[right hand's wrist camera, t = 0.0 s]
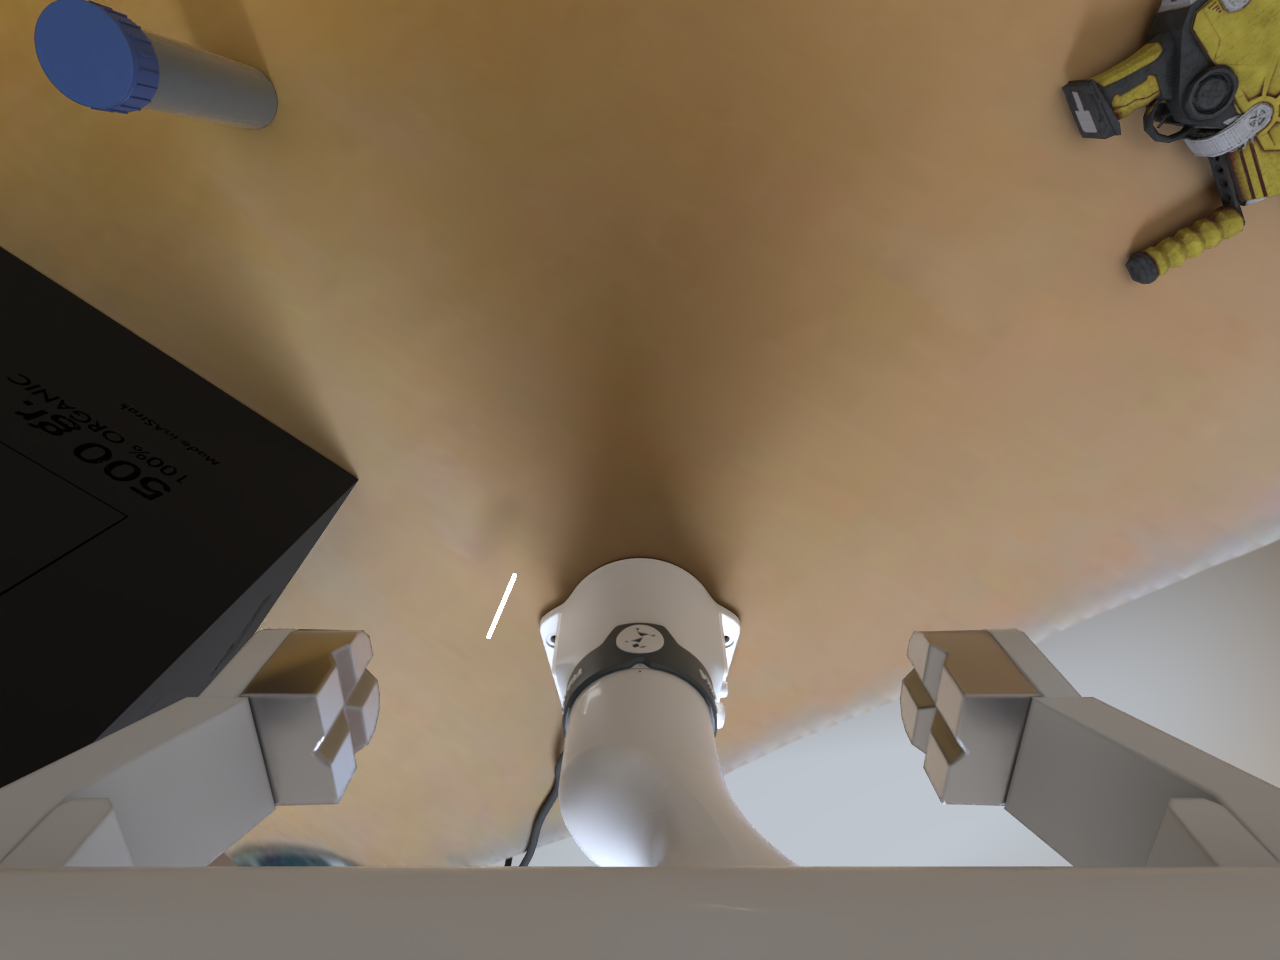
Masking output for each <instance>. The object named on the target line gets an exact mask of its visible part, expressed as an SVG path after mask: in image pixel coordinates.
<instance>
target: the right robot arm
mask: <svg viewBox="0 0 1280 960" xmlns="http://www.w3.org/2000/svg"><path fill="white" fill-rule="evenodd" d="M516 576H517V574H514V573H513V576H512V578H511V580H510V583H509V585H508V587H507V590H506V592H505V595H504V597H503V599H502V602H501V604H500V606H499V609H498V611H497V614H496V616H495V618H494V621H493V623H492V625H491V628H490V630H489V632H488V635H487V638H489V639H490V638H491V635H492V633H493V630H494V628H495V626H496V623H497V621H498V619H499V616H500V614H501V612H502V609H503V607H504V605H505V602H506V600H507V597H508V595H509V593H510V590H511V588H512V586H513V583H514V581H515V579H516ZM540 633H541V637H542V640H543V644H544V647H545V650H546V654H547V657H548V661H549V664H550V667H551V671H552V675H553V678H554V681H555V684H556V688H557V691H558V695H559V698H560V701H561V705H562V708H563V709H562V713H563V731H564V736H565V745H564V750H563V752H562V753H561V755H560V756H559V758H558V760H557V763H556V766H555V776H556V782H555V786H554V788H553V790H552V792H551V794H550V796H549V798H548V799H547V801H546V803H545V804H544V806H543V808H542V809H541V811H540V813H539V815H538V817H537V819H536V822H535V825H534V828H533V832H532V836H531V840H530V844H529V848H528V850H527V853H526V855H525V857H524V858H523V860H522V862H521V864H520V865H519V867H511V864H512V858H513V857H510V858H508V859H506V860H505V865H504V867H206V866H207V865H209V864H210V863H211V862H212V861H213V860H215V859H216V858H217V857H218V856H220V855H221V854H222V853H223V852H224V851H226V850H227V849H228V848H229V847H230V846H232V845H233V844H234V843H235V842H236V841H238V840H239V839H240V838H241V837H242V836H244V835H245V834H246V833H247V832H249V831H250V830H251V829H252V828H253V827H255V826H256V825H257V824H258V823H259V822H261V821H262V820H263V819H264V818H265V817H267V816H268V815H269V814H270V813H272V812H273V811H274V810H275V809H276V807H275V806H286V805H320V804H338V803H339V801H340V799H341V797H342V795H343V793H344V791H345V789H346V787H347V785H348V783H349V781H350V779H351V777H352V776H353V774H354V772H355V770H356V768H357V767H356V761H355V756H354V754H355V753H356V752H358V751H359V750H361V749H362V748H363V747H365V746H366V745H368V744H369V741H370V739H371V737H372V735H373V733H374V731H375V728H376V723H377V719H378V714H379V705H380V693H379V687H378V680H377V679H376V678H375V677H374V676H373V675H372V674H371V673H370V672H369V671H368V670H367V669H366V667H367V665H368V663H369V662H370V660H371V658H372V656H373V651H372V646H371V642H370V637H369V635H368V634H367V633H366V632H365V631H363V630H318V629H298V630H296V629H264V630H261V631H257V632H256V633H255V634H254V635H253V636H252V638H251V639H250V640H249V641H248V642H247V643H246V644H245V645H244V646H243V648H242V649H241V650H240V651H239V652H238V653H237V654H236V655H235V656H234V658H233V659H232V660H231V661H230V662H229V663H228V664H227V665H226V666H225V668H224V669H223V670H222V671H221V672H220V673H219V674H218V675H217V676H216V678H215V679H214V680H213V681H212V682H211V683H210V684H209V685H208V686H207V688H206V689H205V690H204V691H203V692H202V693H201V694H200V695H199V696H198V697H186V698H184V699H182V700H180V701H178V702H176V703H174V704H172V705H170V706H168V707H166V708H164V709H162V710H160V711H157V712H155V713H153V714H151V715H149V716H147V717H145V718H143V719H141V720H139V721H137V722H135V723H133V724H131V725H129V726H127V727H125V728H123V729H121V730H119V731H117V732H114V733H112V734H110V735H108V736H106V737H104V738H102V739H100V740H98V741H96V742H94V743H92V744H90V745H88V746H86V747H84V748H82V749H80V750H78V751H76V752H74V753H72V754H69V755H67V756H65V757H63V758H61V759H59V760H57V761H55V762H53V763H51V764H49V765H47V766H45V767H43V768H41V769H39V770H37V771H35V772H33V773H31V774H29V775H27V776H24V777H22V778H20V779H18V780H16V781H14V782H12V783H10V784H8V785H6V786H4V787H2V788H0V960H1280V788H1277V787H1275V786H1273V785H1271V784H1269V783H1267V782H1265V781H1263V780H1261V779H1259V778H1257V777H1255V776H1253V775H1251V774H1249V773H1247V772H1245V771H1243V770H1241V769H1239V768H1237V767H1235V766H1233V765H1231V764H1229V763H1226V762H1224V761H1222V760H1220V759H1218V758H1216V757H1214V756H1212V755H1210V754H1208V753H1206V752H1204V751H1202V750H1200V749H1198V748H1196V747H1194V746H1192V745H1190V744H1188V743H1186V742H1184V741H1182V740H1180V739H1178V738H1175V737H1173V736H1171V735H1169V734H1167V733H1165V732H1163V731H1161V730H1159V729H1157V728H1155V727H1153V726H1151V725H1149V724H1147V723H1145V722H1143V721H1141V720H1139V719H1137V718H1135V717H1133V716H1131V715H1129V714H1126V713H1125V712H1122V711H1120V710H1118V709H1116V708H1114V707H1112V706H1110V705H1108V704H1106V703H1104V702H1102V701H1100V700H1098V699H1096V698H1094V697H1081V695H1080V694H1079V693H1078V692H1077V691H1076V690H1075V689H1074V688H1073V686H1072V685H1071V684H1070V683H1069V682H1068V681H1067V680H1066V679H1065V678H1064V676H1063V675H1062V674H1061V673H1060V672H1059V671H1058V670H1057V669H1056V668H1055V666H1054V665H1053V664H1052V663H1051V662H1050V661H1049V660H1048V659H1047V658H1046V656H1045V655H1044V654H1043V653H1042V652H1041V651H1040V650H1039V649H1038V648H1037V646H1036V645H1035V644H1034V643H1033V642H1032V641H1031V640H1030V639H1029V638H1028V636H1027V635H1026V634H1025V633H1024V632H1022V631H1020V630H1018V629H1015V628H1014V629H986V630H963V631H914V632H913V634H912V636H911V638H910V640H909V645H908V651H907V656H908V658H909V660H910V662H911V663H912V665H913V667H914V669H913V670H912V671H911V672H910V673H909V674H908V675H907V676H906V677H905V678H904V679H903V680H902V688H901V696H900V704H901V716H902V720H903V724H904V727H905V731H906V733H907V735H908V737H909V739H910V742H911V744H912V745H914V746H915V747H917V748H918V749H919V750H921V751H922V752H924V753H925V754H926V756H925V761H924V770H925V772H926V774H927V775H928V777H929V779H930V781H931V783H932V785H933V787H934V789H935V791H936V793H937V795H938V797H939V799H940V801H941V803H942V804H958V805H994V806H1005V807H1004V809H1005V810H1006V811H1008V812H1009V813H1010V814H1011V815H1012V816H1014V817H1015V818H1016V819H1017V820H1018V821H1020V822H1021V823H1022V824H1023V825H1024V826H1026V827H1027V828H1028V829H1029V830H1031V831H1032V832H1033V833H1034V834H1035V835H1037V836H1038V837H1039V838H1040V839H1041V840H1043V841H1044V842H1045V843H1046V844H1047V845H1049V846H1050V847H1051V848H1052V849H1053V850H1055V851H1056V852H1057V853H1058V854H1060V855H1061V856H1062V857H1063V858H1064V859H1066V860H1067V861H1068V862H1069V863H1070V864H1072V865H1073V866H1074V867H800V866H798V865H797V864H796V863H794V862H793V861H792V860H790V859H789V858H788V857H786V856H785V855H783V854H782V853H781V852H780V851H779V850H778V849H776V848H775V847H774V846H773V845H772V844H770V843H769V842H768V841H767V840H766V839H765V838H764V837H763V836H762V835H761V834H760V833H759V832H758V831H757V830H756V829H755V828H754V827H753V825H752V824H751V823H750V822H749V821H748V820H747V819H746V817H745V816H744V815H743V814H742V812H741V811H740V810H739V808H738V807H737V805H736V804H735V802H734V801H733V799H732V798H731V796H730V794H729V792H728V790H727V787H726V784H725V781H724V778H723V774H722V770H721V766H720V762H719V758H718V753H717V748H716V743H715V736H716V731H717V729H720V728H722V727H723V724H724V719H725V706H724V704H722V703H720V702H719V701H720V698H723V697H724V698H726V697H727V693H728V683H727V682H725V681H726V678H727V675H728V671H729V668H730V664H731V661H732V657H733V654H734V651H735V647H736V644H737V640H738V637H739V634H740V621H739V619H738V617H737V616H736V615H735V614H733V613H732V612H730V611H729V610H727V609H726V608H724V607H722V606H720V605H718V604H717V603H716V602H715V601H714V600H713V599H712V598H711V596H710V595H709V594H708V592H707V591H706V589H705V588H704V587H703V586H702V584H701V583H700V582H699V581H698V580H697V579H696V578H695V577H693V576H692V575H691V574H689V573H688V572H687V571H685V570H683V569H681V568H680V567H678V566H675V565H673V564H670V563H668V562H664V561H660V560H656V559H648V558H632V559H624V560H620V561H616V562H612V563H610V564H607V565H605V566H602V567H600V568H599V569H597V570H595V571H594V572H592V573H591V574H589V575H588V576H587V577H586V578H584V579H583V580H582V581H581V582H580V583H579V584H578V586H577V587H576V588H575V589H574V591H573V592H572V594H571V595H570V596H569V598H568V599H567V600H566V601H565V602H564V603H563V604H562V605H560V606H558V607H556V608H554V609H553V610H551V611H550V612H548V613H547V614H545V615H544V616H543V617H542V619H541V621H540ZM553 635H556V638H553V637H552V636H553ZM724 635H727V636H728V637H727V638H724ZM557 797H558V799H559V807H560V811H561V814H562V818H563V820H564V823H565V825H566V827H567V829H568V830H569V832H570V834H571V835H572V837H573V839H574V840H575V841H576V843H577V844H578V846H579V847H580V848H581V850H582V851H583V852H584V853H585V854H586V855H587V856H588V857H589V858H590V859H591V860H592V861H593V862H594V863H596V864H597V865H598V866H600V867H527V866H528V864H529V862H530V860H531V858H532V856H533V854H534V851H535V848H536V845H537V841H538V837H539V833H540V829H541V826H542V823H543V821H544V819H545V817H546V815H547V814H548V812H549V810H550V809H551V807H552V805H553V804H554V802H555V800H556V799H557Z"/></svg>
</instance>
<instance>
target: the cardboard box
mask: <svg viewBox="0 0 1280 960" xmlns="http://www.w3.org/2000/svg"><path fill="white" fill-rule="evenodd" d="M123 402H124V403H125V404H126V405H129V407H127V408H125V409H120V408H122V407H124V406H121V405H123ZM64 404H66V405H68V406H69V407H76V408H77V409H70V408H68V407H66V406H65V405H64ZM119 404H120V405H119ZM129 408H134V409H135V410H136V413H131V412H130V411H128V410H127V409H129ZM135 410H131V411H132V412H135ZM61 415H62V416H63V417H64V419H63V418H62V417H61ZM89 416H90V417H91V418H92V420H91V421H89V420H88V417H89ZM139 416H141V417H139ZM66 417H67V418H68V420H65V418H66ZM144 417H148V418H147V419H145V420H143V421H142V420H140V419H141V418H144ZM72 418H74V419H76V420H77V421H76V420H74V419H72ZM56 419H59V421H57V420H56ZM149 419H150V420H153V421H155V422H156V424H154V423H153V422H152V421H150V422H151V424H152V426H148V425H146V424H145V423H144V422H146V423H147V424H149V423H148V421H147V420H149ZM78 421H79V422H78ZM96 421H99V423H98V425H96ZM63 422H64V423H65V425H64V424H63ZM71 422H73V423H74V424H75V425H74V424H72V423H71ZM77 424H79V426H78V428H77V430H72V429H75V427H76V425H77ZM157 424H159V426H160V427H161V428H163V429H167V430H169V432H168V433H167V434H171V436H169V435H167V434H165V433H164V432H165V431H166V430H156V426H157ZM68 425H69V426H70V428H69V427H68ZM102 426H107V428H104V429H103V428H102ZM71 428H72V429H71ZM91 429H92V430H94V431H92V430H91ZM158 429H160V428H158ZM107 431H114V432H117V433H119V434H121V435H122V436H123V437H122V439H121V437H120V436H119V435H117V434H114V433H109V432H107ZM103 436H104V437H105V438H104V437H103ZM107 439H109V440H110V441H108V440H107ZM184 441H187V442H188V443H189V444H190V446H185V445H186V444H187V443H186V442H184ZM181 442H184V443H186V444H185V445H183V444H184V443H183V444H182V443H181ZM95 443H96V444H95ZM97 444H100V446H99V445H97ZM135 445H136V446H140V447H142V451H138V449H140V448H139V447H136V448H135V449H134V448H133V446H135ZM104 446H105V447H106V449H104V448H102V447H104ZM191 446H194V447H196V448H198V450H199V451H202V452H203V453H201V455H204V454H205V457H203V456H200V455H199V454H198V452H199V451H197V452H196V451H192V450H191V449H190V450H186V449H187V448H189V447H191ZM196 448H192V449H193V450H196ZM110 451H111V452H112V453H110ZM129 452H130V453H129ZM141 452H150V453H141ZM76 456H77V457H76ZM136 456H137V457H136ZM99 457H101V458H103V459H102V461H101V463H98V462H99ZM153 457H156V458H159V459H152V458H153ZM79 458H80V459H81V460H80V459H79ZM104 458H105V459H106V460H107V461H106V462H103V461H104ZM94 459H95V460H96V461H94ZM205 459H206V460H205ZM125 461H127V462H128V463H127V462H125ZM109 463H110V465H109V467H108V470H104V468H105V466H107V464H109ZM129 463H133V466H132V465H130V464H129ZM147 463H148V464H147ZM117 465H118V466H117ZM151 465H152V466H153V467H151ZM115 466H117V467H115ZM136 466H138V467H139V468H135V467H136ZM166 466H172V467H175V468H176V469H177V473H174V472H173V471H174V469H173V468H167V467H166ZM129 474H131V478H135V479H134V480H132V481H131V480H130V479H131V478H130V479H129V480H125V479H124V478H123V477H125V478H128V477H129ZM134 475H136V476H137V477H138V478H136V477H135V476H134ZM184 475H187V476H188V477H186V478H185V479H184V478H183V476H184ZM108 476H111V477H112V478H110V477H108ZM152 477H153V478H152ZM117 480H118V481H117ZM162 481H163V482H164V483H160V482H162ZM176 481H178V482H179V483H178V482H176ZM357 481H358V479H357V478H355V477H354V476H352V475H351V474H349V473H347V472H346V471H344V470H343V469H341V468H340V467H338V466H337V465H335V464H334V463H332V462H330V461H329V460H327V459H326V458H324V457H323V456H321V455H320V454H318V453H317V452H315V451H314V450H312V449H310V448H309V447H307V446H306V445H304V444H303V443H301V442H300V441H298V440H297V439H295V438H293V437H292V436H290V435H289V434H287V433H286V432H284V431H283V430H281V429H280V428H278V427H277V426H275V425H273V424H272V423H270V422H269V421H267V420H266V419H264V418H263V417H261V416H260V415H258V414H256V413H255V412H253V411H252V410H250V409H249V408H247V407H246V406H244V405H243V404H241V403H240V402H238V401H236V400H235V399H233V398H232V397H230V396H229V395H227V394H226V393H224V392H223V391H221V390H219V389H218V388H216V387H215V386H213V385H212V384H210V383H209V382H207V381H206V380H204V379H202V378H201V377H199V376H198V375H196V374H195V373H193V372H192V371H190V370H189V369H187V368H186V367H184V366H182V365H181V364H179V363H178V362H176V361H175V360H173V359H172V358H170V357H169V356H167V355H165V354H164V353H162V352H161V351H159V350H158V349H156V348H155V347H153V346H152V345H150V344H149V343H147V342H145V341H144V340H142V339H141V338H139V337H138V336H136V335H135V334H133V333H132V332H130V331H128V330H127V329H125V328H124V327H122V326H121V325H119V324H118V323H116V322H115V321H113V320H112V319H110V318H108V317H107V316H105V315H104V314H102V313H101V312H99V311H98V310H96V309H95V308H93V307H91V306H90V305H88V304H87V303H85V302H84V301H82V300H81V299H79V298H78V297H76V296H74V295H73V294H71V293H70V292H68V291H67V290H65V289H64V288H62V287H61V286H59V285H58V284H56V283H54V282H53V281H51V280H50V279H48V278H47V277H45V276H44V275H42V274H41V273H39V272H37V271H36V270H34V269H33V268H31V267H30V266H28V265H27V264H25V263H24V262H22V261H21V260H19V259H17V258H16V257H14V256H13V255H11V254H10V253H8V252H7V251H5V250H4V249H2V248H0V788H2V787H4V786H6V785H8V784H10V783H12V782H14V781H16V780H18V779H20V778H22V777H24V776H27V775H29V774H31V773H33V772H35V771H37V770H39V769H41V768H43V767H45V766H47V765H49V764H51V763H53V762H55V761H57V760H59V759H61V758H63V757H65V756H67V755H69V754H72V753H74V752H76V751H78V750H80V749H82V748H84V747H86V746H88V745H90V744H92V743H94V742H96V741H98V740H100V739H102V738H104V737H106V736H108V735H110V734H112V733H114V732H117V731H119V730H121V729H123V728H125V727H127V726H129V725H131V724H133V723H135V722H137V721H139V720H141V719H143V718H145V717H147V716H149V715H151V714H153V713H155V712H157V711H160V710H162V709H164V708H166V707H168V706H170V705H172V704H174V703H176V702H178V701H180V700H182V699H184V698H186V697H198V696H199V695H200V694H201V693H202V692H203V691H204V690H205V689H206V688H207V686H208V685H209V684H210V683H211V682H212V681H213V680H214V679H215V678H216V676H217V675H218V674H219V673H220V672H221V671H222V670H223V669H224V667H225V666H226V665H227V664H228V663H229V662H230V661H231V660H232V658H233V657H234V656H235V655H236V654H237V653H238V652H239V651H240V649H241V648H242V647H243V646H244V645H245V644H246V643H247V642H248V640H249V639H250V638H251V637H252V636H253V635H254V633H255V632H256V630H257V629H258V627H259V626H260V624H261V623H262V621H263V620H264V618H265V617H266V615H267V614H268V612H269V611H270V609H271V608H272V606H273V605H274V604H275V602H276V601H277V599H278V598H279V596H280V595H281V593H282V592H283V590H284V589H285V587H286V586H287V584H288V583H289V581H290V580H291V578H292V577H293V576H294V574H295V573H296V571H297V570H298V568H299V567H300V565H301V564H302V562H303V561H304V559H305V558H306V556H307V555H308V553H309V552H310V550H311V549H312V547H313V546H314V545H315V543H316V542H317V540H318V539H319V537H320V536H321V534H322V533H323V531H324V530H325V528H326V527H327V525H328V524H329V522H330V521H331V519H332V518H333V516H334V515H335V514H336V512H337V511H338V509H339V508H340V506H341V505H342V503H343V502H344V500H345V499H346V497H347V496H348V494H349V493H350V491H351V490H352V488H353V487H354V486H355V484H356V483H357ZM167 485H168V486H169V488H168V487H167ZM133 490H134V491H135V492H134V491H133ZM139 494H141V495H142V496H141V495H139ZM146 498H148V499H149V500H148V499H146Z"/></svg>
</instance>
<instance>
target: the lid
mask: <svg viewBox="0 0 1280 960" xmlns="http://www.w3.org/2000/svg"><path fill="white" fill-rule="evenodd" d="M35 48H36V53H37V56H38V59H39V62H40V64H41V66H42V69H43V70H44V72H45V74H46V76H47V77H48V78H49V80H50V81H51V82H52V84H53V85H54V86H55V87H56V88H57V89H58V90H59V91H60V92H61V93H63V94H64V95H65V96H66V97H68V98H69V99H71V100H73V101H75V102H77V103H79V104H81V105H84V106H88V107H91V109H96V110H102V111H108V112H118V113H124V114H128V112H133V111H137V110H138V111H140V110H141V108H143V107H144V106H146V105H147V104H148V103H151V100H152V98H153V97H154V95H155V93H156V91H157V90H158V89H157V88H158V84H159V76H160V74H159V64H158V57H157V56H156V53H155V51H154V48H153V46H152V45H151V41H149V39H148V38H147V36H146V35H145V34H144V32H143V31H142V30H141V27H140V26H137V25H136V24H135V23H134V22H133V21H131V20H130V19H129V18H127V15H124V14H122V13H119V12H116V11H113V10H112V8H109V7H106V6H103V5H101V4H98V3H95V2H92V1H89V2H87V1H84V0H57V1H55V2H53V3H51V4H50V5H48V6H47V7H46V8H45V9H44V10H43V12H42V13H41V14H40V16H39V18H38V20H37V24H36V27H35Z"/></svg>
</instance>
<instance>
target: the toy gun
mask: <svg viewBox="0 0 1280 960" xmlns="http://www.w3.org/2000/svg"><path fill="white" fill-rule="evenodd" d="M1062 89H1063V92H1064V95H1065V97H1066V100H1067V102H1068V105H1069V107H1070V110H1071V112H1072V114H1073V117H1074V119H1075V122H1076V124H1077V126H1078V128H1079V131H1080V133H1081V135H1082V137H1083V138H1099V139H1107V138H1109V137H1112V136H1114V135H1121V130H1120V123H1119V121H1118V120H1119V119H1122V118H1125V117H1126V116H1128V115H1129V114H1130V113H1131V112H1133V111H1134V110H1135V109H1136V108H1139V107H1142V106H1145V105H1146V107H1147V109H1146V112H1145V114H1144V117H1143V121H1144V131H1145V132H1146V133H1147V134H1148V135H1149V136H1150V137H1151V138H1152V139H1153V140H1154V141H1158V142H1166V143H1170V142H1173V141H1176V140H1179V139H1182V138H1183V140H1184V141H1185V143H1186V144H1187V146H1188V147H1189V149H1190V150H1191V152H1192V154H1193V155H1195V156H1205V157H1208V158H1209V161H1210V164H1211V168H1212V171H1213V174H1214V177H1215V181H1216V184H1217V187H1218V190H1219V194H1220V197H1221V200H1222V203H1223V206H1221V207H1219V208H1217V209H1215V210H1214V211H1212V213H1211V214H1210V215H1209V217H1206V218H1202V219H1198V220H1196V221H1195V222H1194V223H1193V224H1192V226H1191V227H1186V228H1183V229H1181V230H1178V232H1177V233H1176V234H1175V235H1174V237H1167V238H1165V239H1163V240H1162V241H1161V242H1159V243H1158V244H1157V245H1156V247H1149V248H1147V249H1145V250H1143V251H1141V252H1138V253H1135V254H1132V255H1131V257H1130V259H1129V261H1128V262H1127V264H1126V267H1127V269H1128V271H1129V273H1130V275H1131V277H1132V279H1133V280H1134V281H1137V282H1139V283H1142V284H1150V283H1152V282H1153V281H1155V280H1156V279H1157V277H1159V276H1162V275H1164V274H1166V272H1167V271H1168V269H1169V268H1174V267H1180V265H1181V264H1182V263H1183V262H1184V261H1185V260H1186V259H1187V258H1195V257H1197V256H1199V255H1201V253H1202V252H1203V250H1204V249H1210V248H1212V247H1215V246H1217V245H1218V244H1219V243H1220V242H1221V240H1222V239H1229V238H1230V237H1232V236H1234V235H1236V234H1237V233H1239V232H1241V231H1242V230H1243V226H1244V225H1245V220H1244V217H1243V214H1242V211H1241V207H1240V205H1242V206H1246V205H1249V204H1252V203H1255V202H1258V201H1261V200H1263V199H1266V198H1267V197H1268V198H1269V197H1272V196H1275V195H1278V194H1280V0H1162V3H1161V6H1160V7H1159V10H1158V12H1157V13H1156V14H1155V17H1154V20H1153V22H1152V25H1151V28H1150V31H1149V34H1148V43H1147V44H1146V45H1144V46H1143V47H1142V48H1141V49H1139V50H1138V51H1137V52H1135V53H1134V54H1133V55H1132V56H1130V57H1129V58H1127V59H1126V60H1124V61H1122V62H1120V63H1119V64H1117V65H1115V66H1114V67H1112V68H1110V69H1108V70H1107V71H1105V72H1103V73H1100V74H1098V75H1096V76H1094V77H1092V78H1089V79H1087V80H1077V81H1069V82H1068V84H1066V85H1065V86H1064V87H1062ZM1153 120H1155V121H1156V122H1160V124H1159V125H1158V127H1157V128H1160V127H1161V125H1162V124H1163V123H1167V124H1172V125H1177V126H1183V129H1182V130H1181V131H1179V132H1177V133H1175V134H1172V135H1170V136H1166V135H1162V134H1159V133H1158V132H1157V130H1156V129H1155V127H1154V126H1153Z"/></svg>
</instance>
